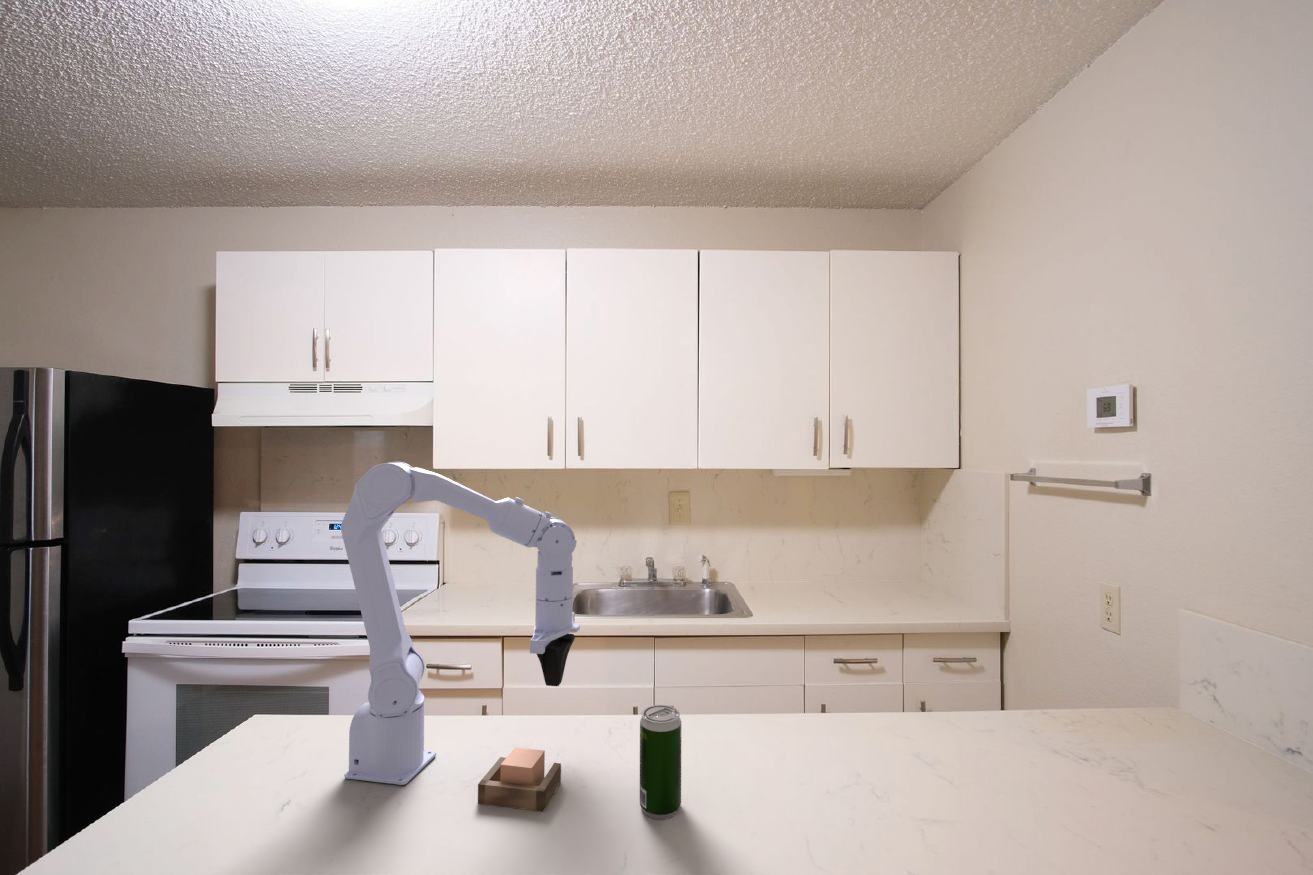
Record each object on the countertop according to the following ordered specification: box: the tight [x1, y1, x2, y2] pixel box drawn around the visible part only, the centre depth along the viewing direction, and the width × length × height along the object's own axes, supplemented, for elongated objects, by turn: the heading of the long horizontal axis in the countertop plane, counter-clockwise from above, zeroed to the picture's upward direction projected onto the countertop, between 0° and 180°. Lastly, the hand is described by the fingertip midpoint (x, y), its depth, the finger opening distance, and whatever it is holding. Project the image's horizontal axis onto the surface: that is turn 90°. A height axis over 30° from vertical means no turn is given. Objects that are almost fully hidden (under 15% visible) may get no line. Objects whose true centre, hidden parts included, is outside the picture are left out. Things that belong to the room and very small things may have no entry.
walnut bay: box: [477, 756, 562, 812], centre depth 75 cm, size 9×6×2 cm
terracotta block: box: [500, 746, 546, 786], centre depth 76 cm, size 4×4×4 cm
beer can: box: [639, 704, 682, 820], centre depth 73 cm, size 5×5×12 cm
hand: (553, 684), depth 88 cm, fingers closed
